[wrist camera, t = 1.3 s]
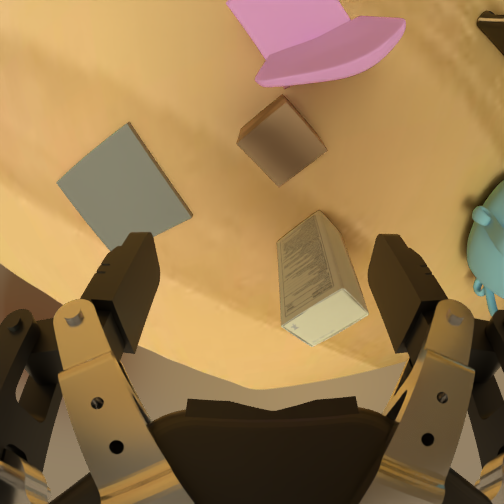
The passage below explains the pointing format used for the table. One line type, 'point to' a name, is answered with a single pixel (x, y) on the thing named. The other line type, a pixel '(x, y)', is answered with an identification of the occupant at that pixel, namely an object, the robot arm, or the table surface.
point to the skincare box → (317, 282)
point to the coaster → (123, 190)
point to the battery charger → (493, 28)
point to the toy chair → (313, 39)
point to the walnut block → (280, 141)
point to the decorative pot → (488, 247)
